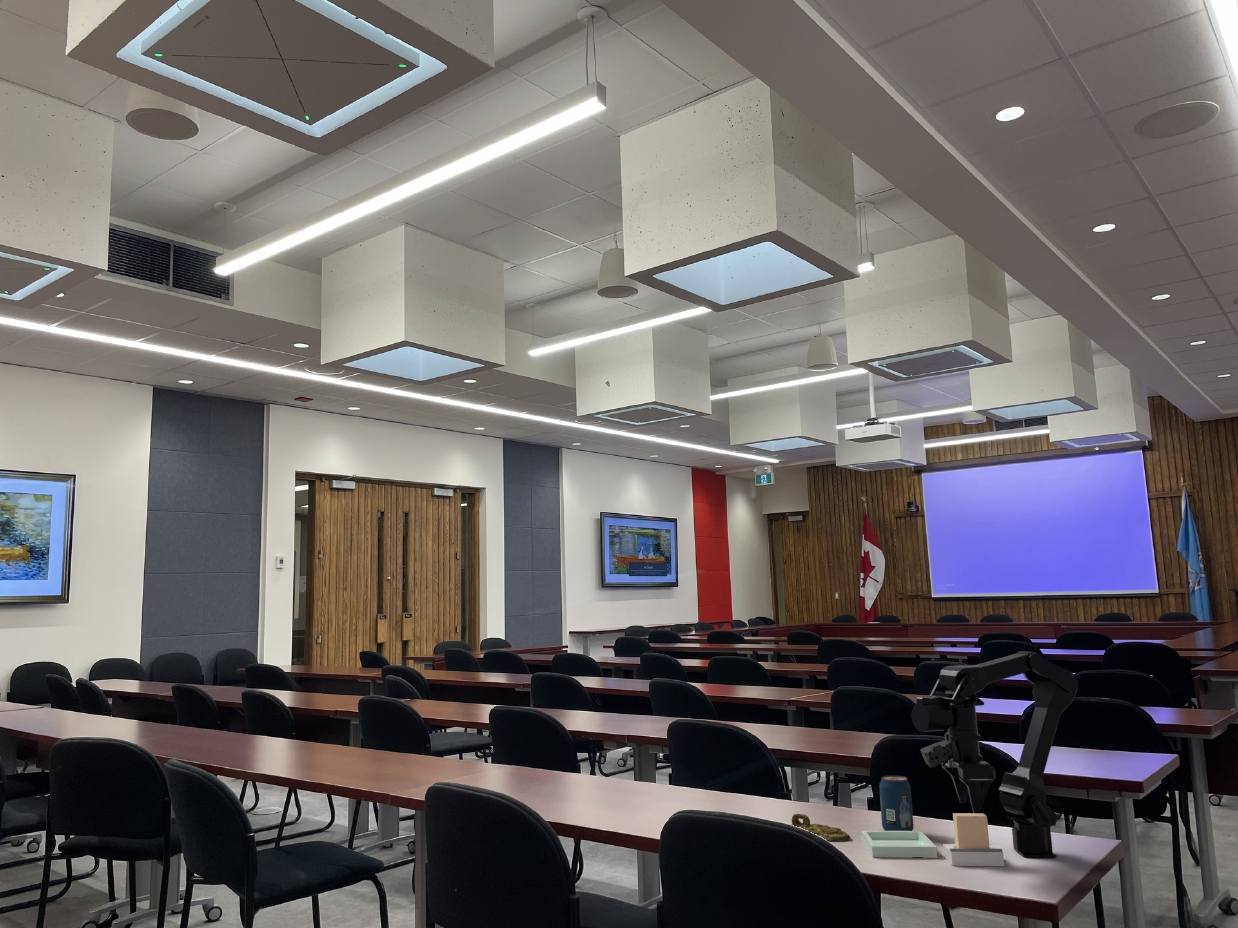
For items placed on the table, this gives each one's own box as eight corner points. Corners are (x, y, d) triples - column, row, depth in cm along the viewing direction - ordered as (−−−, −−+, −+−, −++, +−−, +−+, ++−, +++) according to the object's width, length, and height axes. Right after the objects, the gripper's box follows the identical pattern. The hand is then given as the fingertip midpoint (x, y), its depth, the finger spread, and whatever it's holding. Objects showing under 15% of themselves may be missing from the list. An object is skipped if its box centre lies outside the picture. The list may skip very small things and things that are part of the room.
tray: (921, 840, 190) (921, 830, 190) (937, 857, 177) (936, 846, 177) (861, 840, 191) (860, 830, 191) (872, 856, 178) (871, 846, 179)
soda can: (890, 827, 202) (886, 773, 204) (919, 831, 198) (914, 776, 200) (877, 833, 197) (873, 778, 199) (906, 837, 193) (902, 781, 195)
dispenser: (994, 857, 177) (992, 841, 177) (1004, 865, 171) (1003, 849, 171) (944, 856, 178) (942, 841, 178) (952, 865, 172) (951, 849, 172)
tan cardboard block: (987, 859, 175) (983, 813, 176) (990, 863, 173) (986, 815, 174) (956, 859, 176) (952, 813, 177) (960, 863, 173) (956, 815, 175)
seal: (859, 842, 195) (799, 831, 204) (859, 819, 196) (799, 810, 206) (841, 846, 188) (780, 835, 197) (841, 823, 189) (780, 813, 198)
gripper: (912, 723, 188) (918, 798, 186) (934, 735, 170) (941, 818, 167) (964, 722, 187) (971, 797, 185) (992, 734, 169) (1000, 818, 166)
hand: (969, 807), depth 176 cm, fingers open, 9 cm apart
